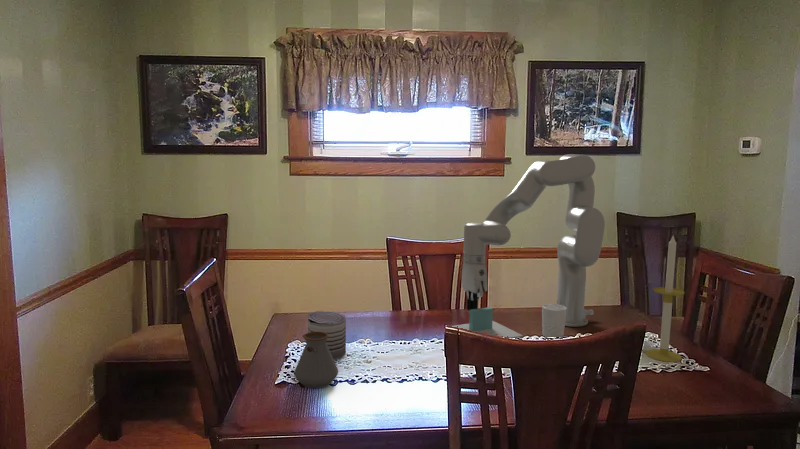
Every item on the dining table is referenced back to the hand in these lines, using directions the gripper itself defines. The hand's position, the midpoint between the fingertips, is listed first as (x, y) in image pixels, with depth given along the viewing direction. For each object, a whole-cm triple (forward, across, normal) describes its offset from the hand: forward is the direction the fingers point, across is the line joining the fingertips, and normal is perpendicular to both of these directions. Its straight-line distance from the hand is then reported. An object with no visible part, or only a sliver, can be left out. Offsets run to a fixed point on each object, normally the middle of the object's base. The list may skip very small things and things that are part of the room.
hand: (472, 310), depth 201 cm
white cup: (+6, -20, -19) cm, 28 cm away
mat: (+6, -8, 0) cm, 10 cm away
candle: (+6, -48, -38) cm, 61 cm away
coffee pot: (+6, -29, +66) cm, 72 cm away
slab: (+5, -6, 0) cm, 8 cm away
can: (+6, -6, +55) cm, 56 cm away
